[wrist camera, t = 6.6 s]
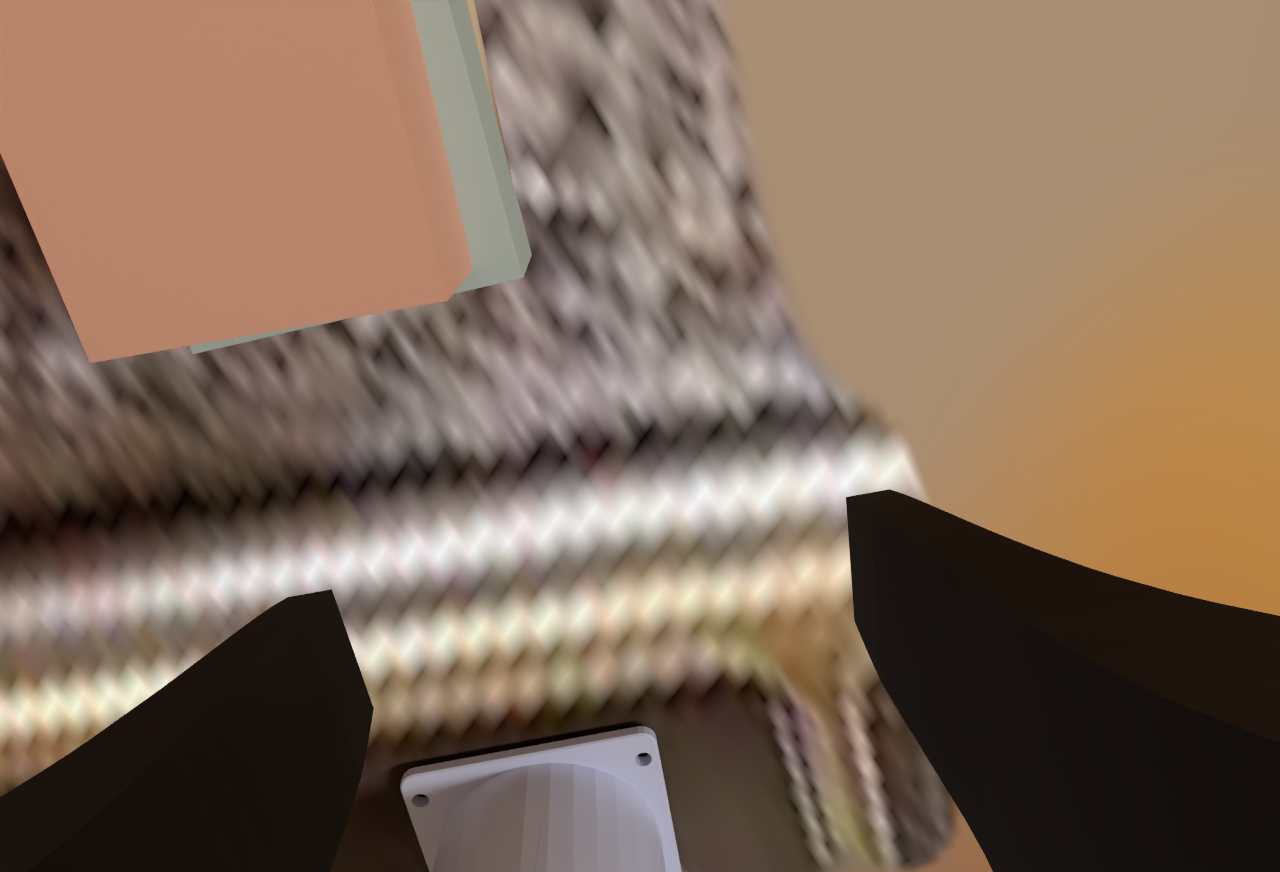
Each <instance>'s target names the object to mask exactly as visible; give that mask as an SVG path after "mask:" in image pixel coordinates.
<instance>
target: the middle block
mask: <svg viewBox="0 0 1280 872" xmlns="http://www.w3.org/2000/svg"><path fill="white" fill-rule="evenodd" d="M411 3H412V8H413V12H414V16H415V21H416V25H417V29H418V33H419V38H420V42H421V46H422V50H423V55H424V59H425V63H426V67H427V72H428V76H429V80H430V85H431V89H432V93H433V97H434V102H435V106H436V110H437V115H438V119H439V123H440V127H441V132H442V136H443V140H444V144H445V149H446V153H447V157H448V162H449V166H450V170H451V174H452V179H453V183H454V187H455V191H456V196H457V200H458V204H459V209H460V213H461V217H462V221H463V226H464V230H465V234H466V238H467V243H468V247H469V251H470V256H471V260H472V264H473V268H474V269H473V270H472V271H471V273H470V274H469V275H468V276H467V278H466V279H465V280H464V281H463V282H462V284H461V285H460V286H459V287H458V289H457V290H456V291H455V292H454V294H455V293H459V292H464V291H468V290H472V289H477V288H481V287H485V286H490V285H494V284H498V283H503V282H507V281H511V280H516V279H520V278H523V276H524V274H525V271H526V269H527V266H528V263H529V261H530V258H531V256H532V254H531V250H530V246H529V243H528V239H527V235H526V231H525V227H524V224H523V220H522V216H521V212H520V208H519V204H518V201H517V197H516V193H515V189H514V185H513V182H512V178H511V174H510V170H509V166H508V163H507V159H506V155H505V151H504V147H503V144H502V140H501V136H500V132H499V128H498V125H497V121H496V117H495V113H494V109H493V106H492V102H491V98H490V94H489V90H488V87H487V83H486V79H485V75H484V71H483V68H482V64H481V60H480V56H479V52H478V49H477V45H476V41H475V37H474V33H473V29H472V26H471V22H470V18H469V14H468V10H467V7H466V3H465V0H411ZM341 320H343V319H341ZM335 321H339V320H335ZM330 322H334V321H330ZM330 322H324V323H318V324H312V325H307V326H301V327H295V328H289V329H284V330H278V331H272V332H266V333H261V334H255V335H249V336H243V337H238V338H232V339H226V340H220V341H215V342H209V343H203V344H197V345H192V346H189V347H190V349H191V351H192V354H196V353H201V352H205V351H209V350H213V349H218V348H222V347H226V346H231V345H235V344H239V343H244V342H248V341H252V340H257V339H261V338H265V337H270V336H274V335H278V334H283V333H287V332H291V331H295V330H300V329H304V328H308V327H313V326H317V325H321V324H326V323H330Z"/></svg>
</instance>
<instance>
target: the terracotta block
mask: <svg viewBox="0 0 1280 872" xmlns="http://www.w3.org/2000/svg"><path fill="white" fill-rule="evenodd" d="M0 153H1V156H2V158H3V160H4V163H5V165H6V167H7V170H8V172H9V174H10V177H11V179H12V182H13V184H14V186H15V189H16V191H17V193H18V196H19V198H20V200H21V203H22V205H23V207H24V210H25V212H26V214H27V217H28V219H29V221H30V224H31V226H32V228H33V231H34V233H35V235H36V238H37V240H38V242H39V245H40V247H41V249H42V252H43V254H44V256H45V259H46V261H47V263H48V266H49V268H50V270H51V273H52V275H53V277H54V280H55V282H56V285H57V287H58V289H59V292H60V294H61V296H62V299H63V301H64V303H65V306H66V308H67V310H68V313H69V315H70V317H71V320H72V322H73V324H74V327H75V329H76V331H77V334H78V336H79V338H80V341H81V343H82V345H83V348H84V350H85V352H86V355H87V357H88V359H89V362H90V363H94V362H100V361H105V360H111V359H117V358H123V357H128V356H134V355H140V354H146V353H151V352H157V351H163V350H169V349H174V348H180V347H186V346H192V345H197V344H203V343H209V342H215V341H220V340H226V339H232V338H238V337H243V336H249V335H255V334H261V333H266V332H272V331H278V330H284V329H289V328H295V327H301V326H307V325H312V324H318V323H324V322H330V321H335V320H341V319H347V318H353V317H358V316H364V315H370V314H376V313H381V312H387V311H393V310H399V309H404V308H410V307H416V306H422V305H427V304H433V303H439V302H445V301H448V300H449V298H450V297H451V296H452V295H453V294H454V292H455V291H456V290H457V289H458V287H459V286H460V285H461V284H462V282H463V281H464V280H465V279H466V278H467V276H468V275H469V274H470V273H471V271H472V270H473V269H474V268H473V264H472V260H471V256H470V251H469V247H468V243H467V238H466V234H465V230H464V226H463V221H462V217H461V213H460V209H459V204H458V200H457V196H456V191H455V187H454V183H453V179H452V174H451V170H450V166H449V162H448V157H447V153H446V149H445V144H444V140H443V136H442V132H441V127H440V123H439V119H438V115H437V110H436V106H435V102H434V97H433V93H432V89H431V85H430V80H429V76H428V72H427V67H426V63H425V59H424V55H423V50H422V46H421V42H420V38H419V33H418V29H417V25H416V21H415V16H414V12H413V8H412V3H411V0H0Z"/></svg>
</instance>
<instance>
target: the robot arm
mask: <svg viewBox="0 0 1280 872" xmlns="http://www.w3.org/2000/svg"><path fill="white" fill-rule="evenodd" d="M846 503H847V518H848V532H849V547H850V561H851V576H852V590H853V605H854V619H855V623H856V625H857V628H858V630H859V632H860V635H861V637H862V640H863V642H864V644H865V647H866V649H867V651H868V654H869V656H870V658H871V660H872V663H873V665H874V667H875V669H876V671H877V674H878V676H879V678H880V680H881V682H882V684H883V685H884V687H885V689H886V691H887V692H888V694H889V696H890V697H891V699H892V701H893V702H894V704H895V706H896V707H897V709H898V711H899V712H900V714H901V716H902V717H903V719H904V720H905V722H906V724H907V725H908V727H909V729H910V730H911V732H912V734H913V735H914V737H915V738H916V740H917V742H918V743H919V745H920V747H921V748H922V750H923V751H924V753H925V755H926V756H927V758H928V760H929V761H930V763H931V764H932V766H933V768H934V769H935V771H936V773H937V774H938V776H939V777H940V779H941V781H942V782H943V784H944V786H945V787H946V789H947V790H948V792H949V794H950V795H951V797H952V799H953V800H954V802H955V803H956V805H957V807H958V808H959V810H960V812H961V813H962V815H963V816H964V818H965V820H966V822H967V823H968V825H969V827H970V829H971V830H972V832H973V834H974V836H975V838H976V840H977V841H978V843H979V845H980V847H981V848H982V850H983V852H984V854H985V856H986V858H987V860H988V862H989V864H990V866H991V868H992V870H993V872H1280V616H1277V615H1272V614H1268V613H1262V612H1258V611H1253V610H1248V609H1243V608H1238V607H1234V606H1229V605H1224V604H1219V603H1215V602H1210V601H1206V600H1202V599H1197V598H1193V597H1189V596H1185V595H1181V594H1177V593H1173V592H1169V591H1166V590H1163V589H1159V588H1155V587H1152V586H1148V585H1145V584H1141V583H1137V582H1134V581H1130V580H1127V579H1123V578H1120V577H1116V576H1113V575H1110V574H1107V573H1103V572H1100V571H1097V570H1094V569H1090V568H1088V567H1085V566H1082V565H1079V564H1076V563H1074V562H1071V561H1068V560H1065V559H1062V558H1059V557H1057V556H1053V555H1051V554H1048V553H1046V552H1042V551H1040V550H1037V549H1034V548H1032V547H1030V546H1027V545H1024V544H1022V543H1019V542H1017V541H1014V540H1012V539H1009V538H1007V537H1004V536H1002V535H999V534H997V533H994V532H992V531H990V530H987V529H985V528H982V527H980V526H978V525H975V524H973V523H971V522H968V521H966V520H964V519H961V518H959V517H957V516H954V515H952V514H950V513H948V512H945V511H943V510H940V509H938V508H936V507H934V506H931V505H929V504H927V503H924V502H922V501H919V500H917V499H915V498H912V497H910V496H907V495H904V494H902V493H899V492H896V491H892V490H884V491H879V492H873V493H867V494H862V495H856V496H851V497H846ZM373 709H374V708H373V706H372V703H371V700H370V697H369V694H368V691H367V689H366V686H365V683H364V680H363V677H362V674H361V671H360V669H359V666H358V663H357V660H356V657H355V654H354V652H353V649H352V646H351V643H350V640H349V637H348V635H347V632H346V629H345V626H344V623H343V620H342V618H341V615H340V612H339V609H338V606H337V603H336V600H335V598H334V595H333V592H332V590H326V591H321V592H315V593H310V594H304V595H298V596H293V597H288V598H286V599H284V600H282V601H281V602H279V603H277V604H276V605H274V606H272V607H271V608H269V609H268V610H266V611H265V612H263V613H262V614H261V615H259V616H258V617H256V618H255V619H254V620H252V621H251V622H249V623H248V624H247V625H245V626H244V627H243V628H241V629H240V630H239V631H237V632H236V633H234V634H233V635H232V636H230V637H229V638H228V639H227V640H225V641H224V642H223V643H221V644H220V645H219V646H217V647H216V648H215V649H213V650H212V651H211V652H209V653H208V654H207V655H205V656H204V657H203V658H201V659H200V660H199V661H197V662H196V663H195V664H194V665H192V666H191V667H190V668H188V669H187V670H186V671H184V672H183V673H182V674H180V675H179V676H178V677H176V678H175V679H174V680H172V681H171V682H170V683H168V684H167V685H166V686H164V687H163V688H162V689H160V690H159V691H158V692H156V693H155V694H153V695H152V696H151V697H149V698H148V699H146V700H145V701H144V702H142V703H141V704H139V705H138V706H137V707H135V708H134V709H132V710H131V711H130V712H128V713H127V714H125V715H124V716H123V717H121V718H120V719H118V720H117V721H115V722H114V723H113V724H111V725H110V726H108V727H107V728H106V729H104V730H103V731H101V732H100V733H99V734H97V735H96V736H94V737H93V738H92V739H90V740H89V741H87V742H86V743H84V744H83V745H81V746H80V747H79V748H77V749H76V750H74V751H73V752H71V753H70V754H68V755H67V756H65V757H64V758H62V759H60V760H59V761H57V762H56V763H54V764H53V765H51V766H50V767H48V768H47V769H45V770H43V771H42V772H40V773H39V774H37V775H36V776H34V777H32V778H31V779H29V780H27V781H26V782H24V783H23V784H21V785H19V786H18V787H16V788H14V789H13V790H11V791H10V792H8V793H6V794H5V795H3V796H1V797H0V872H330V869H331V867H332V864H333V861H334V858H335V855H336V852H337V849H338V846H339V843H340V840H341V837H342V834H343V831H344V828H345V825H346V822H347V819H348V816H349V813H350V810H351V807H352V804H353V801H354V798H355V795H356V791H357V788H358V785H359V782H360V779H361V775H362V770H363V765H364V760H365V755H366V750H367V745H368V739H369V733H370V727H371V721H372V715H373ZM641 753H648V755H647V756H645V757H639V756H637V755H638V754H641ZM400 789H401V793H402V795H403V798H404V801H405V804H406V807H407V810H408V812H409V815H410V818H411V821H412V824H413V827H414V830H415V832H416V835H417V838H418V841H419V844H420V847H421V849H422V852H423V855H424V858H425V861H426V864H427V866H428V869H429V872H682V870H681V865H680V860H679V855H678V849H677V844H676V839H675V834H674V828H673V823H672V818H671V813H670V807H669V802H668V797H667V792H666V787H665V781H664V776H663V771H662V766H661V760H660V755H659V750H658V745H657V739H656V735H655V733H654V731H652V730H651V729H650V728H648V727H645V726H637V727H632V728H626V729H621V730H616V731H610V732H605V733H599V734H594V735H588V736H583V737H577V738H572V739H567V740H561V741H556V742H550V743H545V744H539V745H534V746H528V747H523V748H518V749H512V750H507V751H501V752H496V753H490V754H485V755H479V756H474V757H469V758H463V759H458V760H452V761H447V762H441V763H436V764H431V765H425V766H420V767H414V768H411V769H409V770H407V771H406V772H405V773H404V775H403V777H402V780H401V784H400ZM418 794H424V795H426V796H427V797H419V796H417V795H418Z"/></svg>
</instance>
